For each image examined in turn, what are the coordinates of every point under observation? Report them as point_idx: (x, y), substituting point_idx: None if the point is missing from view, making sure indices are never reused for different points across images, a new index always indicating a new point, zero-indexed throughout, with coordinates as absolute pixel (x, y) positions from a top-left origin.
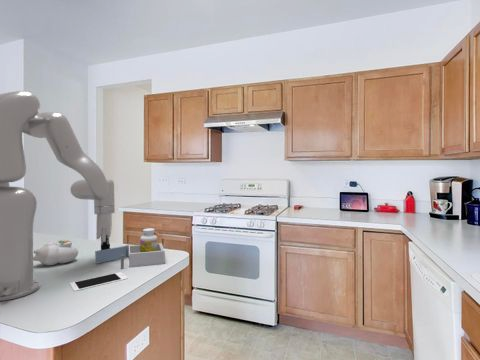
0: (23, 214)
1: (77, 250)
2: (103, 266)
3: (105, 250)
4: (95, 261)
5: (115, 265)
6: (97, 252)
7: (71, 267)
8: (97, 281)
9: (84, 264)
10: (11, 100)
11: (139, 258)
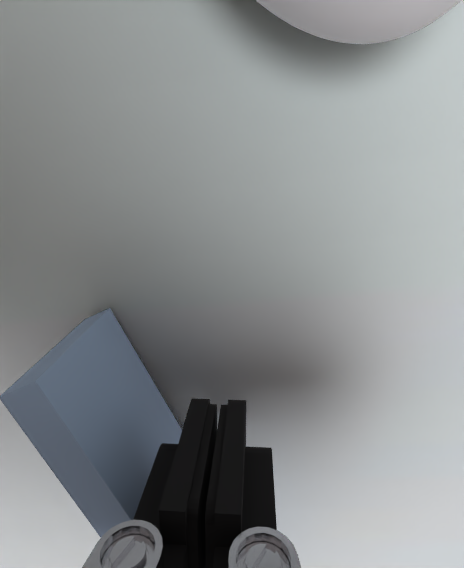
0: None
1: (381, 6)
2: (7, 383)
3: (84, 503)
4: (95, 317)
5: (18, 474)
6: (21, 403)
7: (34, 47)
8: None
9: (121, 190)
10: None
11: None
